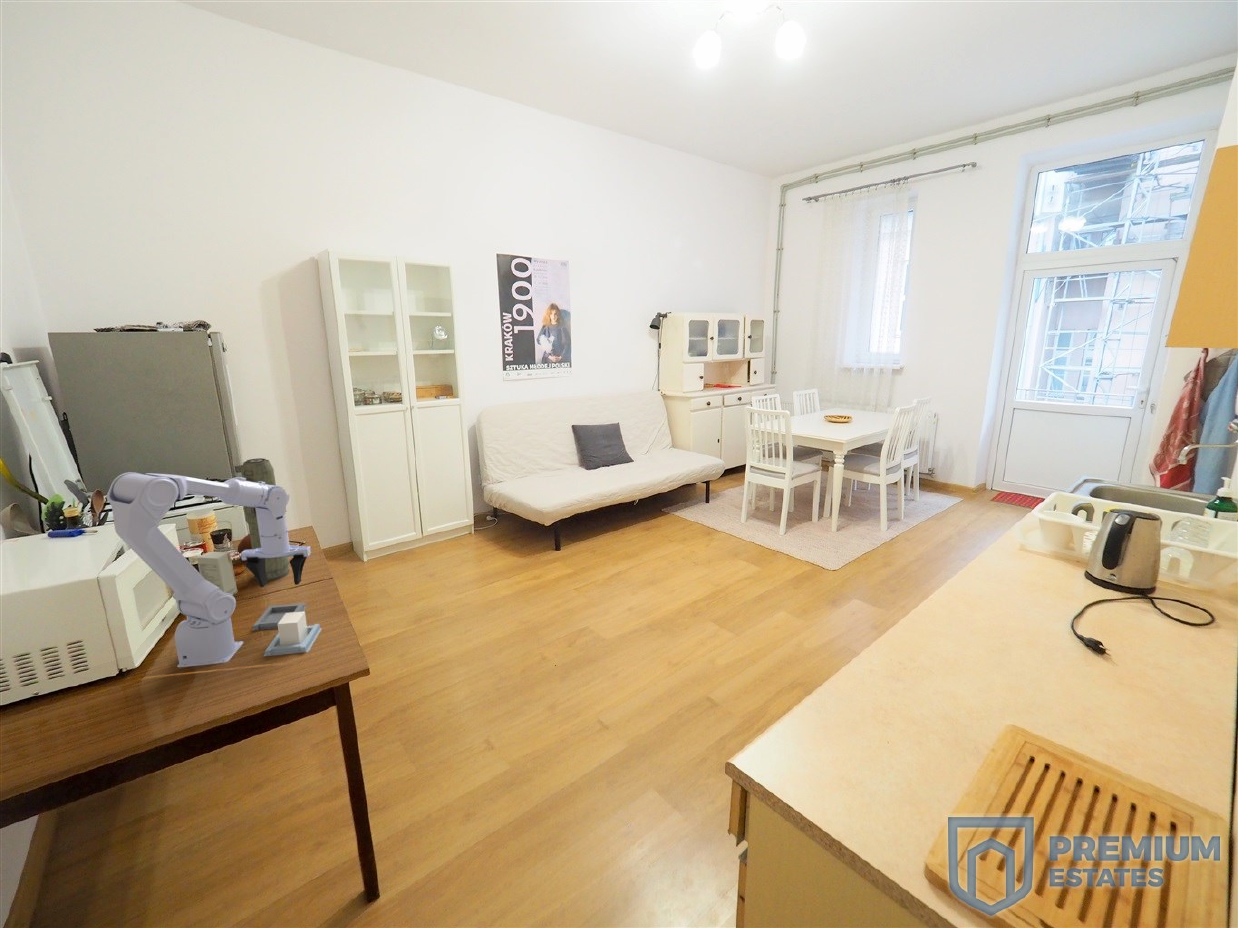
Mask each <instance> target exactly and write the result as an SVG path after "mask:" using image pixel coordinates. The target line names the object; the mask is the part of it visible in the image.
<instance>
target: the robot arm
mask: <svg viewBox="0 0 1238 928" xmlns="http://www.w3.org/2000/svg"><path fill="white" fill-rule="evenodd" d="M187 495H197V496H204V497H205V496H208V497H217V498H219V499H220V500H221V502H222V503H223V504H225V505H229V506H230V505H231V506H241V507H244V506H247V507H254V508H255V509H256V516H257V522H258V529H259V536H260V542H261V548H257V549H250V550H244V551H243V552H242V553H241V557H240V559H241V561H246V563H245V564H244V566H245V568H246V569H247V570H249V571H250V572H251V573H252V575H253V576H255V577H256V579H257V580H256V579H255V580H256V581H257V582H258V584H259V586H260V588H263V587H265V586H266V585H267V584H268V581H267V576H266V571H265V558H273V557H288V558H289V557H292V558H291V559H290V560H289V565H290V568H291V570H292V574H293V582H294V585H299V584H300V583H301V582H302V574H303V569H304V566H305V563H306V560H307V558H308V557H309V556H311V554H312V551H311V546H305V545H304V546H303V545H290V541H289V540H290V539H289V533H288V532H289V531H288V524H287V519H286V512H287V505H288V503H289V500H290V495H289V494H288V493H287V491H286V490H285V489H284V487H282V486H280V485H276V486H274V485H267V484H265V482H261V481H258V482H257V483H256V482H250V481H246V478H242V476H241V477H240V476H236V477H235V478H230V479H227V480H225V481H224V482H218V481H212V480H209V479H207V480H206V479H202V478H196V477H190V476H185V475H179V474H168V473H154V472H153V473H151V472H150V473H149V472H148V473H147V472H146V473H145V474H143V473H139V472H135V471H133V472H131V471H129V472H124V473H121V474H120V475H117V477H115V478H114V480H112V482H111V484H110V487H109V489H108V491H107V494H106V495H105V497H106V500H107V501H108V503H109V504H110V506H111V512H112V516H113V525H114V530H115V533H116V534H117V536H118V537H120V539H121V540H122V541H123V543H125V544H126V546H128V547H129V548H130V549H131V550H132V551H133V552H134V553H135V554H136V555H137V556H138V558H140V559H141V560H142V561H143V562H144V563H145V564H146V565H147V567H149V568H150V569H151V571H153V572H154V574H156V575H157V576H158V577H159V578H160V579H161V580H162V581H163V582H164V583H165V584H166V585H167V586H168V587H169V588H170V589H171V590H172V591H173V594H172V595H171V596H172V598H173V599H174V601H175V602H176V605H177V610H178V611H179V613H181V614H182V615H183V616H185V617H186V620H182V621H180V623H178V625H177V627H176V629H175V633H174V645H175V649H176V654H177V659H178V664H177V666H176V667H177V668H186V667H195V666H196V667H197V666H207V665H215V664H218V665H219V664H225V663H228V662H230V660H231V659H232V657H233V656H234V655H235V654H236V652H238V651H239V649H240V648H241V647H242V645H243V644H244V641H243V640H240V641H235V635H234V629H233V624H232V619H231V618H232V615H233V613H234V611H235V610H236V608H237V607H236V606H237V600H236V598H235V596H234V595H231V594H229V593H225V592H222V591H221V590H220V589H219V588H218V587H217V586H215V585H213V584H212V583H210V582H208V581H207V580H205V579H204V578H203V577H202V576H201V574H200V571H199V570H198V569H196V568H195V567H194V566H193V564H192V563H191V562H190V561H189V560H188V559H187V558H186V557H185V556H184V555H183V554H182V553H181V551H180V550H178V548H177V547H176V546H175V545H174V544H173V543H172V542H171V540H170V539H169V538H168V537H167V536H166V535H165V534H164V533H163V532H162V530H160V528H158V526H159V524H160V523H161V521H162V520H163V518H164V517H166V514H167V513H168V512H169V510H170V509H172V507H173V505H174V504H175V502H176V501H177V500H179V501H180V500H183V499H185V497H186V496H187ZM257 507H258V508H257ZM255 577H254V578H255Z"/></svg>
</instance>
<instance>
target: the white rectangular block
mask: <svg viewBox="0 0 1238 928" xmlns="http://www.w3.org/2000/svg"><path fill="white" fill-rule="evenodd" d="M277 625H278V628H277V629H278V633H279V639H280V646H286V645H296V644H302V643H303V641H304V639H305V638H306V636H307V635H308V631H307V626H308V625H307V618H306V610H304V611H303V612H291V613H286V614H285V615H284V616H283V618H282V619H281V620H280V621H279V623H278V624H277Z"/></svg>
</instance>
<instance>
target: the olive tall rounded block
mask: <svg viewBox="0 0 1238 928" xmlns="http://www.w3.org/2000/svg"><path fill="white" fill-rule="evenodd" d="M240 475H241V478H246V481H250V482H256V483H257V482H258V481H261V482H265V484H267V485H274V486H277V485H276V478H275V470H274V467H273V465H272V463H271V462H270V460H269V459H266V458H262V457H259V458H251V459H247V460H246V461H244V462H243V463H242V467H241V472H240ZM257 508H258V507H257ZM243 511H244V519H245V522H246V523H247V525H248V533H249V534H250V539H251V546H252V549H257V548H261V542H260V536H259V529H258V522H257V516H256V509H255V508H254V507H247V506H243ZM289 561H290V560H289V557H273V558H265V571H266V576H267V582H270V581H274V580H279V579H281V578H283V577H285V576H287V575H289V573H290V568H289V565H290V562H289ZM253 576H254V575H253ZM253 578H254V579H255V580H256V581H257V579H256V577H255V576H254V577H253Z"/></svg>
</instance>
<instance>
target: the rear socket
mask: <svg viewBox="0 0 1238 928" xmlns="http://www.w3.org/2000/svg"><path fill="white" fill-rule="evenodd" d="M307 607H308V606H306V603H305V602H300V603H293V604H292V603H291V604H280V605H279V604H278V605H275V604H270V605H269V606H268V607H267V608H266V610H264V612H263V613H262V614H261V615H260V617H259V618H258V619H257V620H256V622H255V623H254V624H253V626H252V629H251V631H252V632H253V631H261V630H271V629H278V625H277V624H278V623H279V621H280V620H281V619H282V618H283V616H284V615H285V614H286V613H291V612H303V611H306V609H307Z"/></svg>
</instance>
